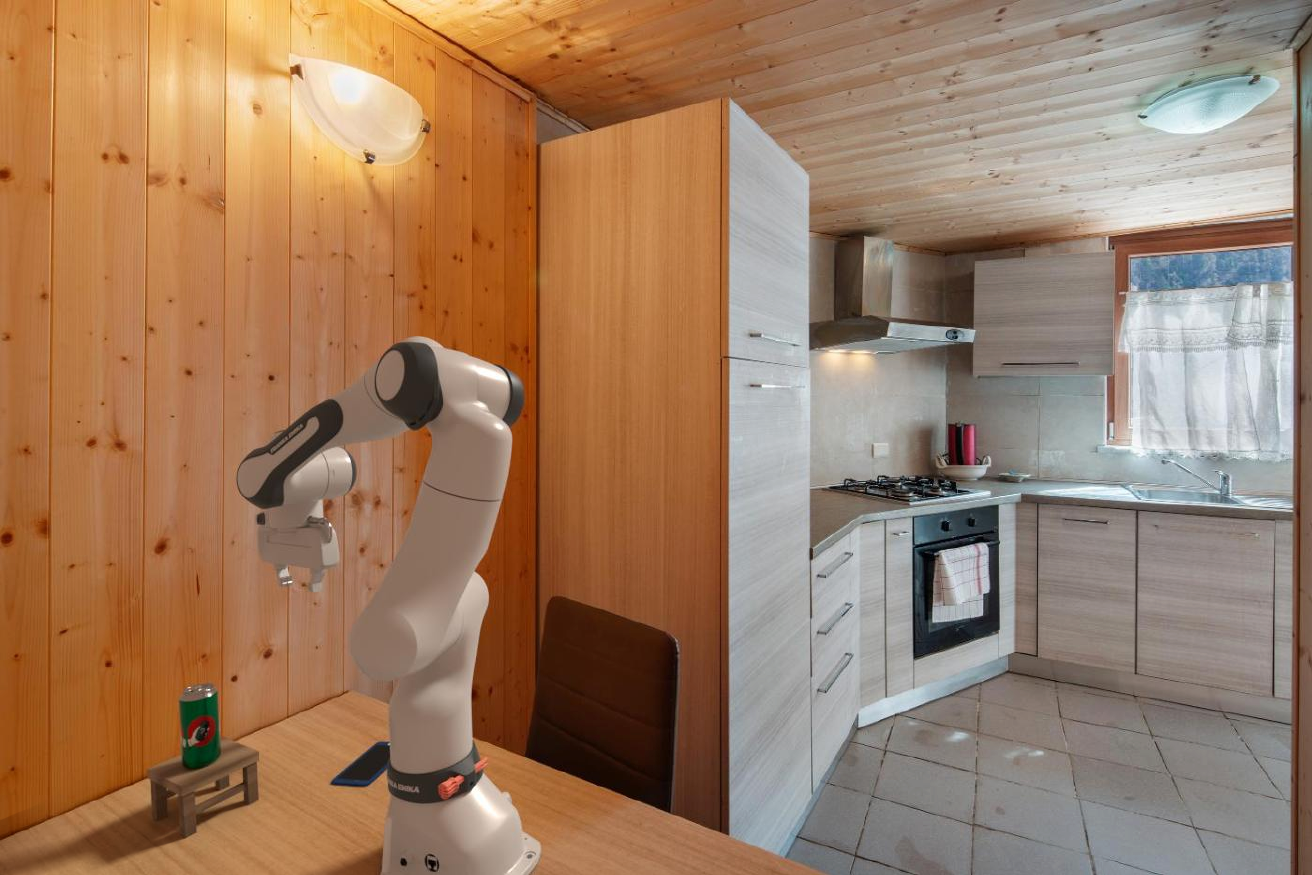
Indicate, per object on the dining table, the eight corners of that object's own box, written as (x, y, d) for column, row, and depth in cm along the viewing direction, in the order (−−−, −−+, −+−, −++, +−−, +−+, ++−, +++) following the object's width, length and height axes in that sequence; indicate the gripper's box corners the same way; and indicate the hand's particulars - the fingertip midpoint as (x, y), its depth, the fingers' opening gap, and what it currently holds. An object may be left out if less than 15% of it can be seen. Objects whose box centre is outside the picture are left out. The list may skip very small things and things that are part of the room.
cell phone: (413, 746, 118) (413, 742, 118) (367, 789, 104) (367, 784, 104) (378, 744, 119) (378, 740, 119) (328, 786, 105) (328, 782, 105)
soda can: (229, 754, 101) (225, 682, 101) (200, 772, 96) (196, 696, 96) (203, 752, 102) (199, 680, 101) (173, 769, 97) (169, 694, 97)
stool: (261, 798, 102) (258, 751, 102) (184, 839, 92) (181, 786, 92) (225, 782, 107) (223, 736, 107) (149, 818, 98) (147, 768, 97)
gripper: (346, 515, 113) (350, 590, 113) (282, 510, 123) (286, 579, 123) (313, 520, 107) (317, 599, 108) (249, 515, 118) (252, 587, 118)
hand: (300, 588), depth 116 cm, fingers open, 8 cm apart
